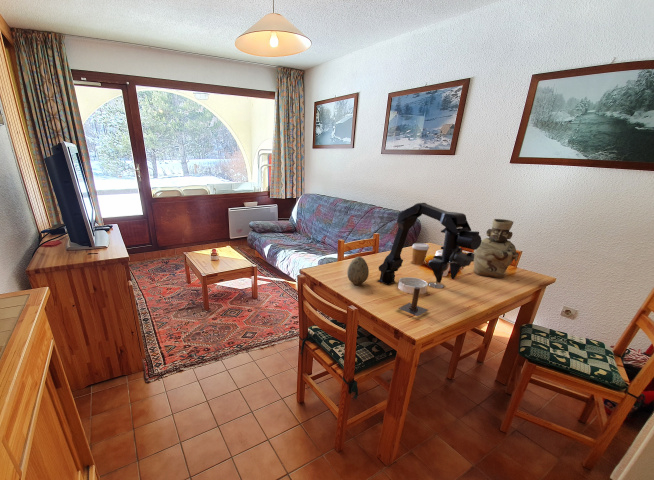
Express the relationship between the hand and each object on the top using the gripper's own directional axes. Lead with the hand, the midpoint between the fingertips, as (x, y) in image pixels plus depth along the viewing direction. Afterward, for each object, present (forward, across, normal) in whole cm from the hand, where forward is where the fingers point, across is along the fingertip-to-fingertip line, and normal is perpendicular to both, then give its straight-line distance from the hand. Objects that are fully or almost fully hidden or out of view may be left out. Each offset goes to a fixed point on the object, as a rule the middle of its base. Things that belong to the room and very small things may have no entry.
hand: (445, 280), depth 131 cm
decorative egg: (+11, -13, +40) cm, 44 cm away
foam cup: (+12, +39, +28) cm, 50 cm away
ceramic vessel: (+12, +66, +17) cm, 69 cm away
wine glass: (+12, +23, +19) cm, 32 cm away
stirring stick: (+12, -12, +5) cm, 18 cm away
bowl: (+12, +5, +20) cm, 24 cm away
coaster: (+14, -12, +5) cm, 19 cm away
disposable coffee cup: (+10, +43, +47) cm, 65 cm away
